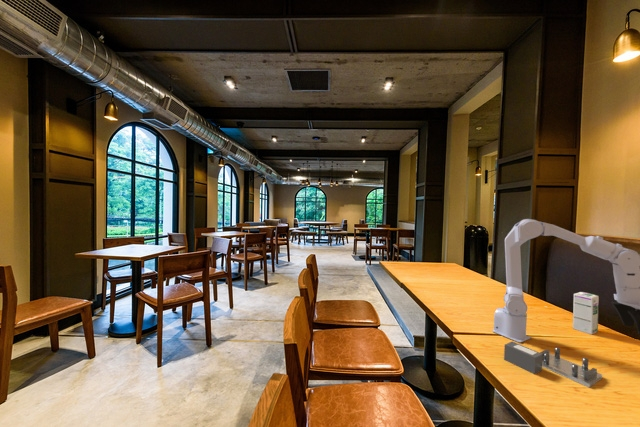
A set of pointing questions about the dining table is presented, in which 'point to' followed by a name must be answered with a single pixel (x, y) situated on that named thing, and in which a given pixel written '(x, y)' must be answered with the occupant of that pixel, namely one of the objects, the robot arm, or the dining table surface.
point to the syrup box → (585, 312)
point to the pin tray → (570, 368)
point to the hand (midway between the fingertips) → (636, 330)
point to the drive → (523, 357)
